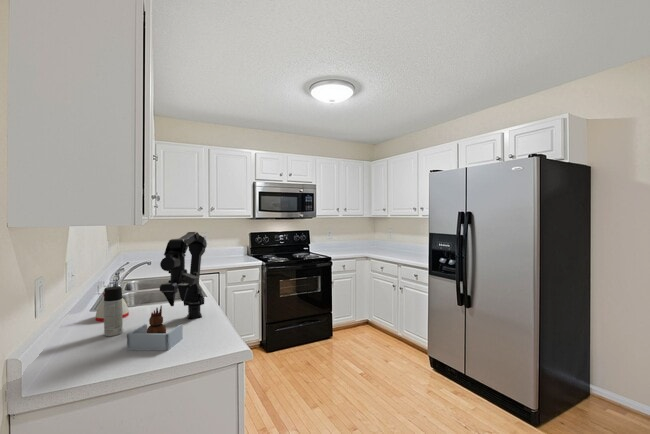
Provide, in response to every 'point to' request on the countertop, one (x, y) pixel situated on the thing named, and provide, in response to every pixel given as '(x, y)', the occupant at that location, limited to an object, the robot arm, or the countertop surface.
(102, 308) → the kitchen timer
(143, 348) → the cubby
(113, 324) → the spray can
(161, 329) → the wooden figurine
